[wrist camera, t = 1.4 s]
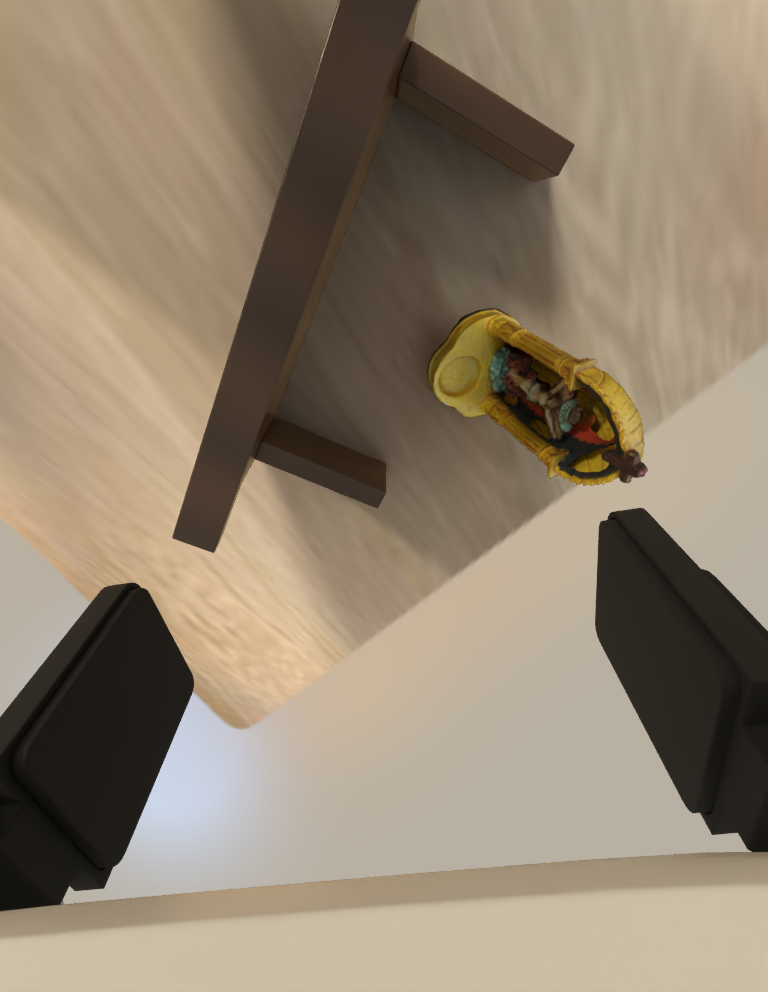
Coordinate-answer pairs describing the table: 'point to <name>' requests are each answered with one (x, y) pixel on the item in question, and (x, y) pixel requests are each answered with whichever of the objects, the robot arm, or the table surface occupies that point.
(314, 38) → the table surface
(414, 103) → the wooden stand
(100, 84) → the table surface
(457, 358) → the shrine
